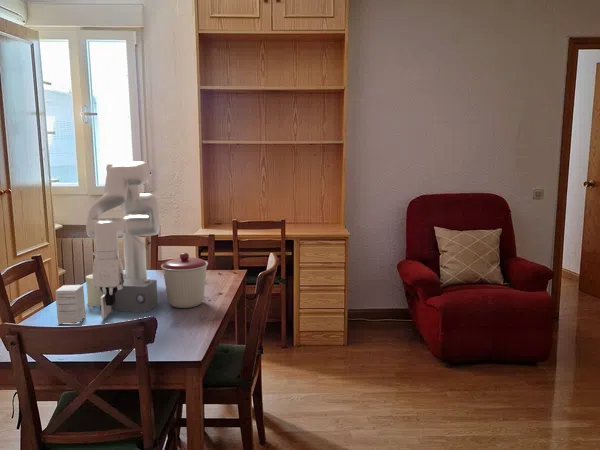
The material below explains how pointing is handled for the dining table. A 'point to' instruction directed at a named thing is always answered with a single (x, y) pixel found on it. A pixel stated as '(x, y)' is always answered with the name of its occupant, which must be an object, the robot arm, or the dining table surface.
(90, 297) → the can
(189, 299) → the canister
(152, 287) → the block
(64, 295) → the supplement box
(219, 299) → the dining table surface
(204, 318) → the dining table surface
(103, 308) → the side door
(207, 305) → the dining table surface
